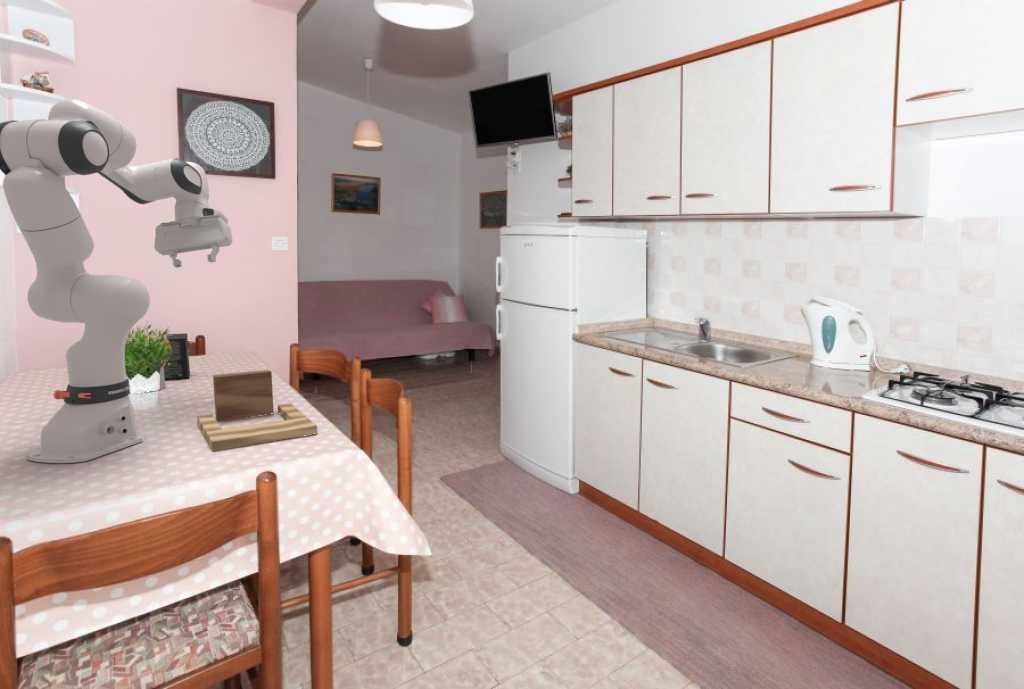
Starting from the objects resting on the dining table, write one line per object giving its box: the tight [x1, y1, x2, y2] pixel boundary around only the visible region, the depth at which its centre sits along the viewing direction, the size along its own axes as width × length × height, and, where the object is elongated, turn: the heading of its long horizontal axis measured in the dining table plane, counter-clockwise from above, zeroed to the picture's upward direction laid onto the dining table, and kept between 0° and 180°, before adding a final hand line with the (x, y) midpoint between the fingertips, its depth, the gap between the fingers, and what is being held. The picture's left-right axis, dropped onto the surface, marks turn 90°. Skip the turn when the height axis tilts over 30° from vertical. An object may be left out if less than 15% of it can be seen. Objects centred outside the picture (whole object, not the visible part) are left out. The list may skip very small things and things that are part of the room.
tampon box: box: [164, 332, 191, 382], centre depth 210 cm, size 11×9×15 cm
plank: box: [212, 369, 275, 423], centre depth 164 cm, size 4×14×12 cm, turn 124°
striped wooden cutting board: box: [196, 402, 318, 452], centre depth 154 cm, size 25×24×2 cm
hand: (194, 264), depth 168 cm, fingers open, 8 cm apart
